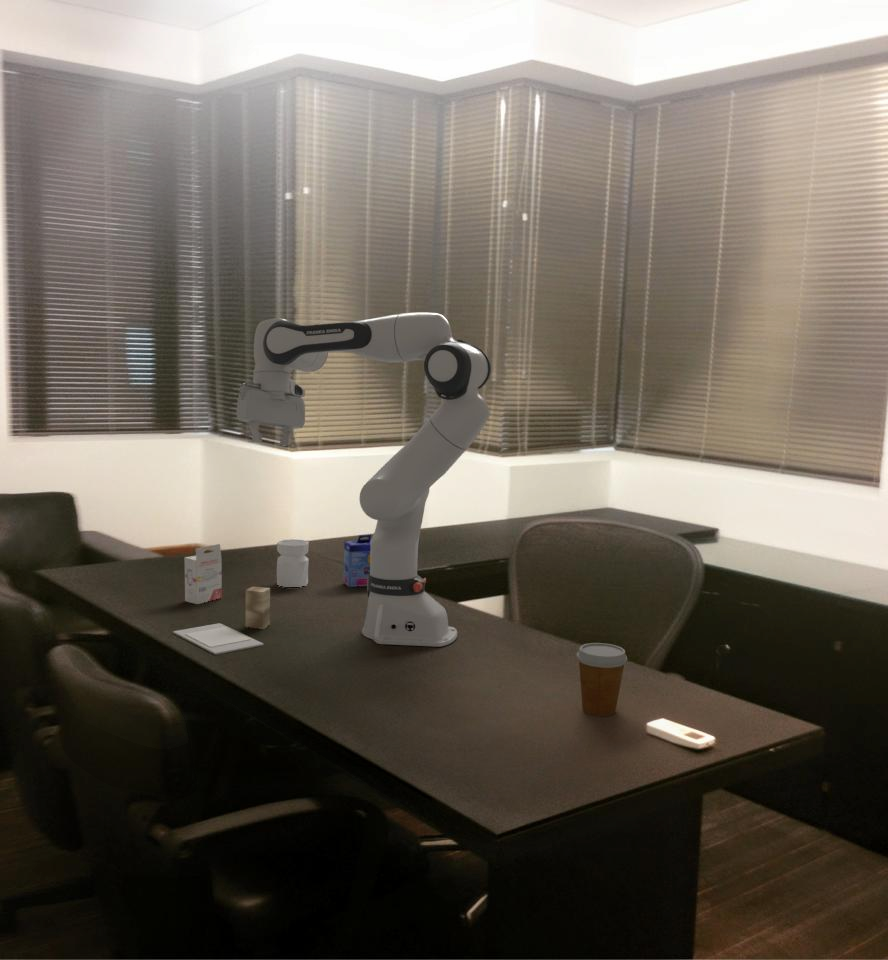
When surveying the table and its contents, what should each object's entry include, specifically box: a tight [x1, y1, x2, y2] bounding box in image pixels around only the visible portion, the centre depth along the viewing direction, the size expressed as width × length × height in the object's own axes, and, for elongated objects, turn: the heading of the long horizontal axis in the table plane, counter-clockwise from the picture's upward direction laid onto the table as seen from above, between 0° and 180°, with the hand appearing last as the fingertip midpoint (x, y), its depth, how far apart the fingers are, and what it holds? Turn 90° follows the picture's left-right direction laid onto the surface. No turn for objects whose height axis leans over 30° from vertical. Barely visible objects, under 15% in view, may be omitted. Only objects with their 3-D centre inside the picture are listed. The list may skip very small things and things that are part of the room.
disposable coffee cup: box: [576, 642, 628, 717], centre depth 194 cm, size 10×10×12 cm
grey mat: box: [172, 622, 264, 656], centre depth 232 cm, size 20×12×1 cm, turn 41°
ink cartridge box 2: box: [342, 534, 372, 588], centre depth 287 cm, size 10×6×14 cm, turn 115°
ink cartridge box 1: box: [183, 543, 223, 605], centre depth 265 cm, size 9×5×15 cm, turn 143°
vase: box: [276, 538, 310, 588], centre depth 284 cm, size 9×9×12 cm
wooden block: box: [244, 586, 271, 630], centre depth 243 cm, size 4×4×9 cm
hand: (271, 443), depth 244 cm, fingers open, 8 cm apart
